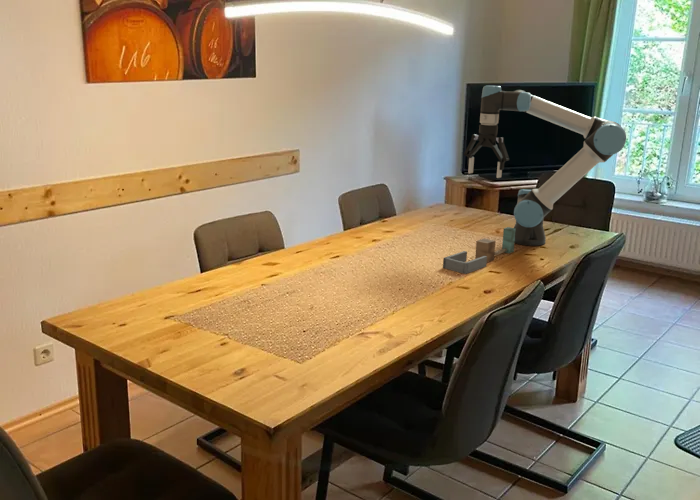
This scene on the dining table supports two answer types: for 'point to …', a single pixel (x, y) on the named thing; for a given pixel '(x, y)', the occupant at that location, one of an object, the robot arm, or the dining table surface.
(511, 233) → the tethered block
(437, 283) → the dining table surface
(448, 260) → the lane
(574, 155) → the robot arm
